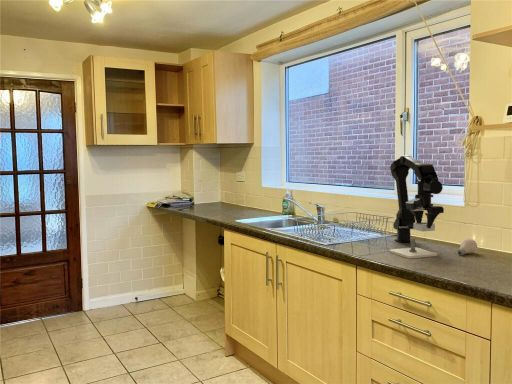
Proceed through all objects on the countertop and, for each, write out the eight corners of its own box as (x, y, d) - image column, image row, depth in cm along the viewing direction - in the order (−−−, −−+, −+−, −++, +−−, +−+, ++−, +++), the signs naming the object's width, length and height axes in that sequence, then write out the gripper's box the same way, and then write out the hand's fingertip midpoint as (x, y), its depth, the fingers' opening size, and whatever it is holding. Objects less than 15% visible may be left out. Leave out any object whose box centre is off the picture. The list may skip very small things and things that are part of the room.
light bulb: (464, 245, 192) (477, 235, 198) (450, 246, 198) (463, 236, 204) (469, 260, 193) (482, 249, 199) (454, 260, 198) (468, 250, 204)
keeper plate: (389, 251, 204) (389, 237, 204) (416, 249, 208) (416, 235, 208) (408, 258, 191) (409, 243, 190) (437, 255, 195) (437, 240, 195)
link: (413, 229, 209) (413, 222, 209) (425, 228, 211) (425, 221, 211) (422, 231, 203) (422, 224, 203) (434, 230, 205) (434, 223, 205)
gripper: (396, 191, 212) (395, 225, 213) (423, 194, 194) (422, 231, 195) (416, 190, 215) (416, 224, 217) (444, 193, 198) (444, 229, 199)
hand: (423, 227), depth 207 cm, fingers closed on link, 6 cm apart
